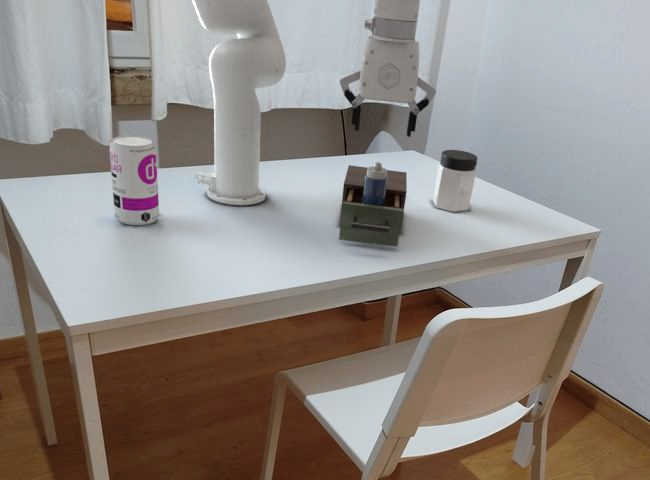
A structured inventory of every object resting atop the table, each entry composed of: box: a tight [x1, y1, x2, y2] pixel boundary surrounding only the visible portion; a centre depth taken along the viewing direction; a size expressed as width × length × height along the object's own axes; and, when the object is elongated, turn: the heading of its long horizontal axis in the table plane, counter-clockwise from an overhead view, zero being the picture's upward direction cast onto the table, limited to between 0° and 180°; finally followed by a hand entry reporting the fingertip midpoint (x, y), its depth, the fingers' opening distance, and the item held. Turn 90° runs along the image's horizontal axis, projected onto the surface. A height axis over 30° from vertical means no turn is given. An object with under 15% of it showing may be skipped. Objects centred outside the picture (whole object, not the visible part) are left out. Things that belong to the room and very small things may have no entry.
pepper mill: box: [362, 161, 388, 206], centre depth 130 cm, size 4×4×13 cm
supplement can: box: [109, 135, 160, 226], centre depth 126 cm, size 8×8×15 cm
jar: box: [432, 149, 478, 213], centre depth 154 cm, size 9×8×12 cm
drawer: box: [338, 188, 404, 248], centre depth 131 cm, size 17×11×7 cm
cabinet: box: [338, 164, 408, 235], centre depth 141 cm, size 14×13×9 cm
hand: (382, 132), depth 124 cm, fingers open, 9 cm apart
